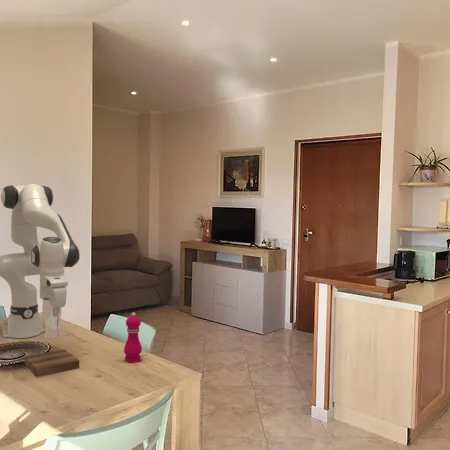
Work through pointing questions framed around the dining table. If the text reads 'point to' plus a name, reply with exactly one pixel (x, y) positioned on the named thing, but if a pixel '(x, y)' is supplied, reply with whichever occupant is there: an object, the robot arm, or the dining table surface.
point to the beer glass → (51, 320)
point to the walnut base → (51, 362)
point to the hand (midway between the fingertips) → (52, 314)
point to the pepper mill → (132, 339)
